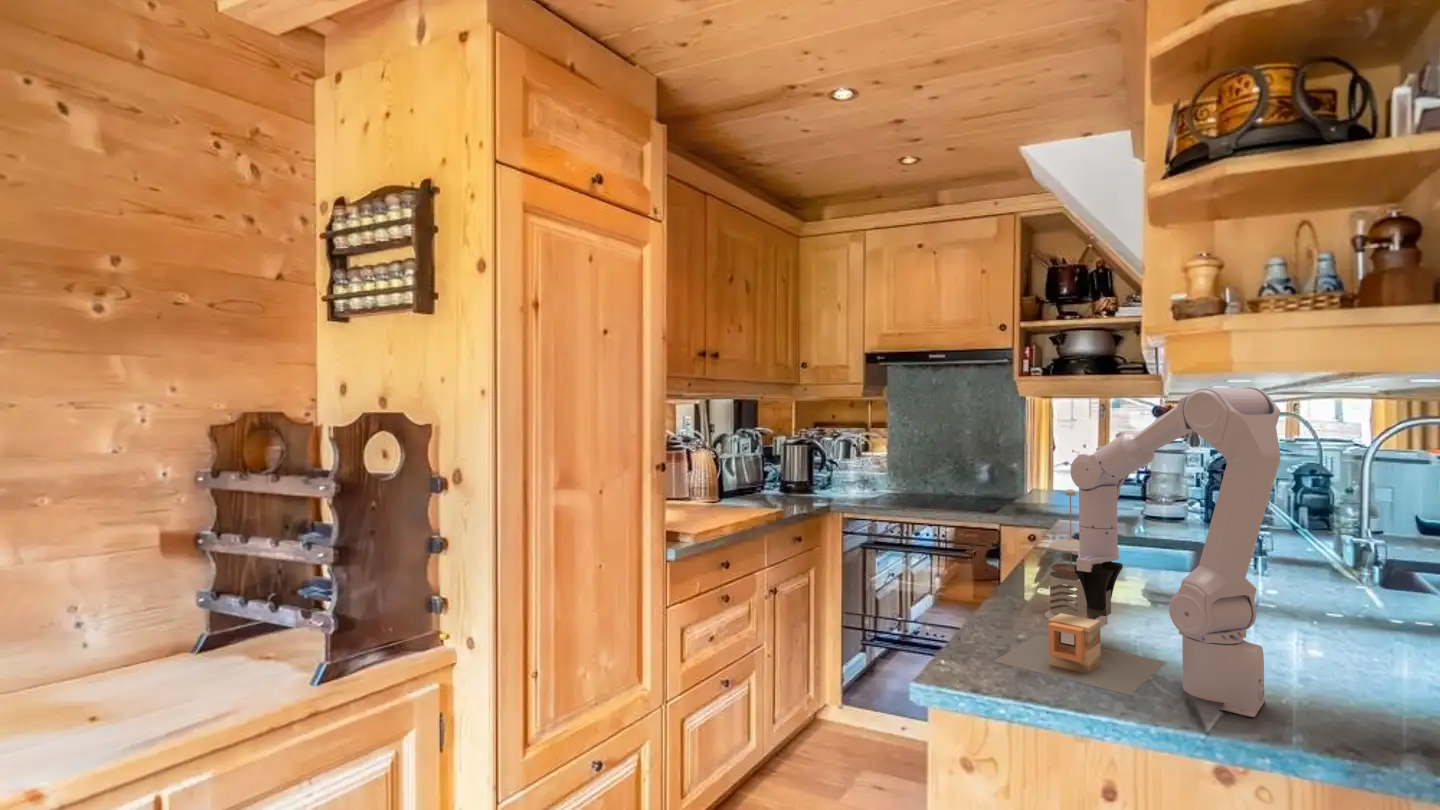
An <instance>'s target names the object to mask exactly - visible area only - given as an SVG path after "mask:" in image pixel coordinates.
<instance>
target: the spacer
mask: <svg viewBox="0 0 1440 810" xmlns="http://www.w3.org/2000/svg"><path fill="white" fill-rule="evenodd" d="M1047 624H1048V623H1047ZM1047 626H1048V637H1049V655H1050V656H1055V657H1059V658H1063V659H1068V660H1072V661H1076V662H1083V661H1084V660H1085V629H1084V628H1079V627H1074V626H1069V625H1064V624H1059V623H1054V622H1052V623H1050V624H1048V625H1047ZM1058 632H1063V633H1068V634H1073V635H1075V640H1076V653H1075V652H1070V651H1066V650H1061V649H1058Z"/></svg>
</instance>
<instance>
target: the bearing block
mask: <svg viewBox="0 0 1440 810" xmlns="http://www.w3.org/2000/svg"><path fill="white" fill-rule="evenodd" d="M1047 621H1048V623H1047V624H1050V623H1052V622H1054V623H1059V624H1064V625H1069V626H1074V627H1079V628H1084V629H1085V660H1084V661H1083V662H1076V661H1072V660H1068V659H1063V658H1059V657H1055V656H1050V655H1049V665H1053V666H1058V667H1062V668H1066V669H1070V670H1074V671H1079V672H1083V673H1087V674H1090V673H1091V672H1093V671H1094V670H1095V669H1096V668H1098V667H1099V666H1100V665H1101V653H1100V648H1101V628H1100V621H1099V620H1094V619H1089V618H1083V617H1078V616H1073V615H1067V614H1062V613H1060V614H1058V615H1056V616H1055V617H1053V618H1051V619H1048V620H1047ZM1058 649H1061V650H1066V651H1070V652H1075V653H1076V645H1071V644H1066V643H1061V632H1058Z"/></svg>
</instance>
